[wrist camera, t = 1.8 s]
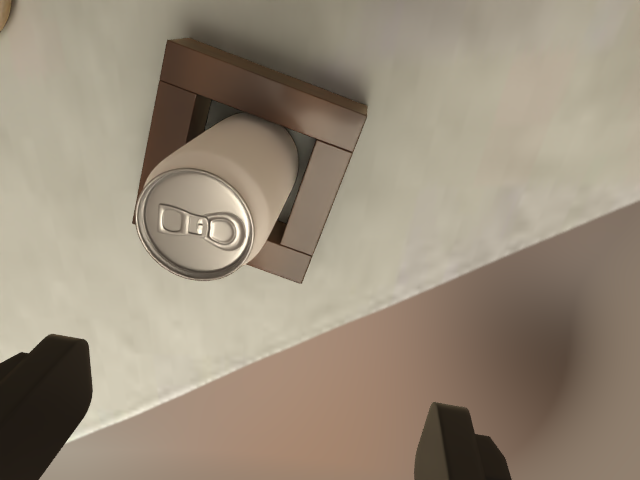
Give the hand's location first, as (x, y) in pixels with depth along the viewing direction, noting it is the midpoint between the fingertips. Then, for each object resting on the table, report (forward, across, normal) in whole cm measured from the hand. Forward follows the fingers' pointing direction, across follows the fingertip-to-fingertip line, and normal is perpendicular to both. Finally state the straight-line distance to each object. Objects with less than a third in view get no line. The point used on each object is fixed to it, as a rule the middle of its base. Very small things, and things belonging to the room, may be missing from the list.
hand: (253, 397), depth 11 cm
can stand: (+23, +5, +2) cm, 24 cm away
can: (+23, +5, +2) cm, 24 cm away
